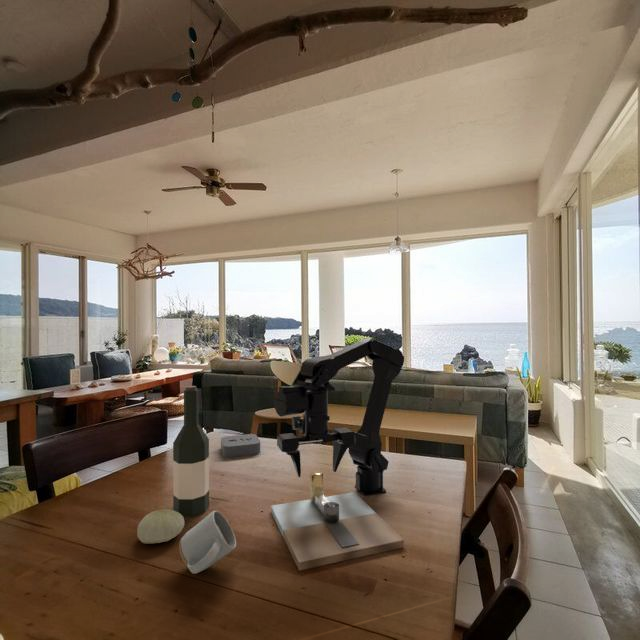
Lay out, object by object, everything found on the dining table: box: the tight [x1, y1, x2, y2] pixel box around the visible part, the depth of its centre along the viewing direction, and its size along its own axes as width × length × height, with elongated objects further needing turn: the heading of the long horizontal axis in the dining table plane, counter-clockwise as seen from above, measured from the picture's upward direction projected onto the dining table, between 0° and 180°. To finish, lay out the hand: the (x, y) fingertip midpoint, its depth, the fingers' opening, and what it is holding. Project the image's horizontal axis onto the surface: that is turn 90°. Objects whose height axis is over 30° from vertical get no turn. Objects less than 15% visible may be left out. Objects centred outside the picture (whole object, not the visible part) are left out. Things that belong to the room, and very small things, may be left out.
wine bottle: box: [172, 385, 210, 518], centre depth 97 cm, size 8×8×30 cm
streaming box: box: [220, 433, 261, 459], centre depth 140 cm, size 13×13×4 cm
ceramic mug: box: [178, 510, 237, 575], centre depth 72 cm, size 11×8×8 cm
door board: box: [270, 491, 405, 571], centre depth 87 cm, size 22×24×2 cm
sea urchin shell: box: [136, 508, 186, 545], centre depth 84 cm, size 9×8×8 cm
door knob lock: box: [309, 470, 339, 523], centre depth 92 cm, size 13×3×6 cm, turn 19°
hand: (316, 474), depth 97 cm, fingers open, 9 cm apart
